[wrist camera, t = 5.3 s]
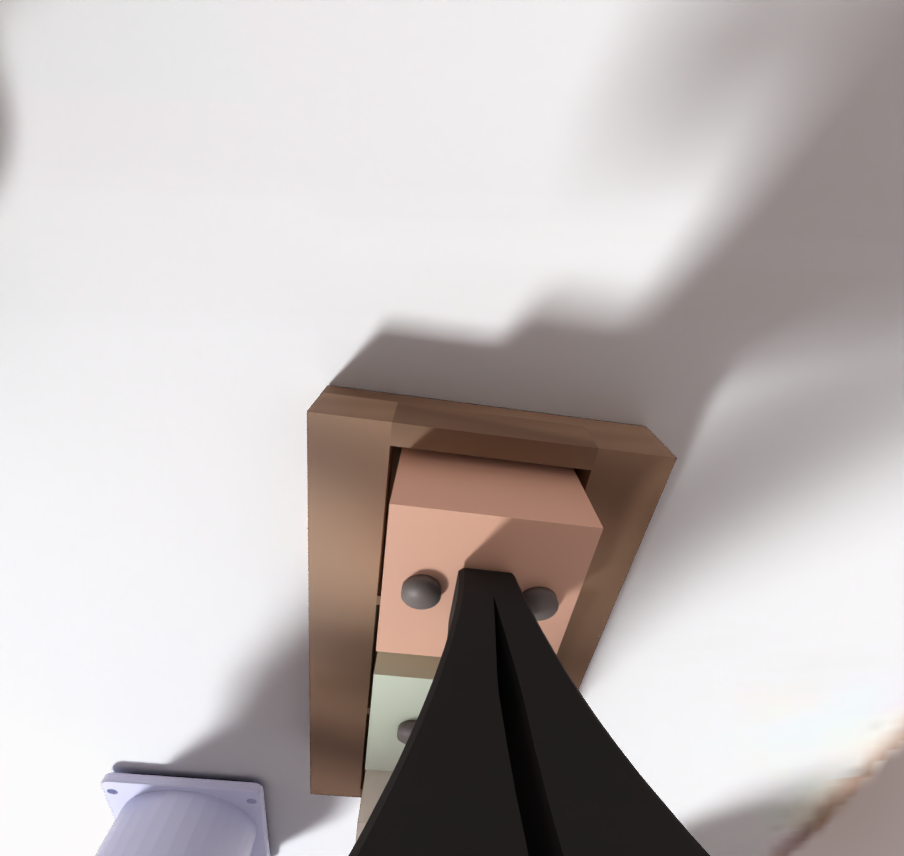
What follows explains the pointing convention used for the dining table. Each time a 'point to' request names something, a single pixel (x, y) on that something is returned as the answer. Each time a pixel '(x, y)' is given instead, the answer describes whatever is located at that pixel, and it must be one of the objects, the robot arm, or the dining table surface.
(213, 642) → the dining table surface
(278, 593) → the dining table surface
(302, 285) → the dining table surface
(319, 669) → the board
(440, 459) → the peach block
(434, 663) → the pale green knobbed block
